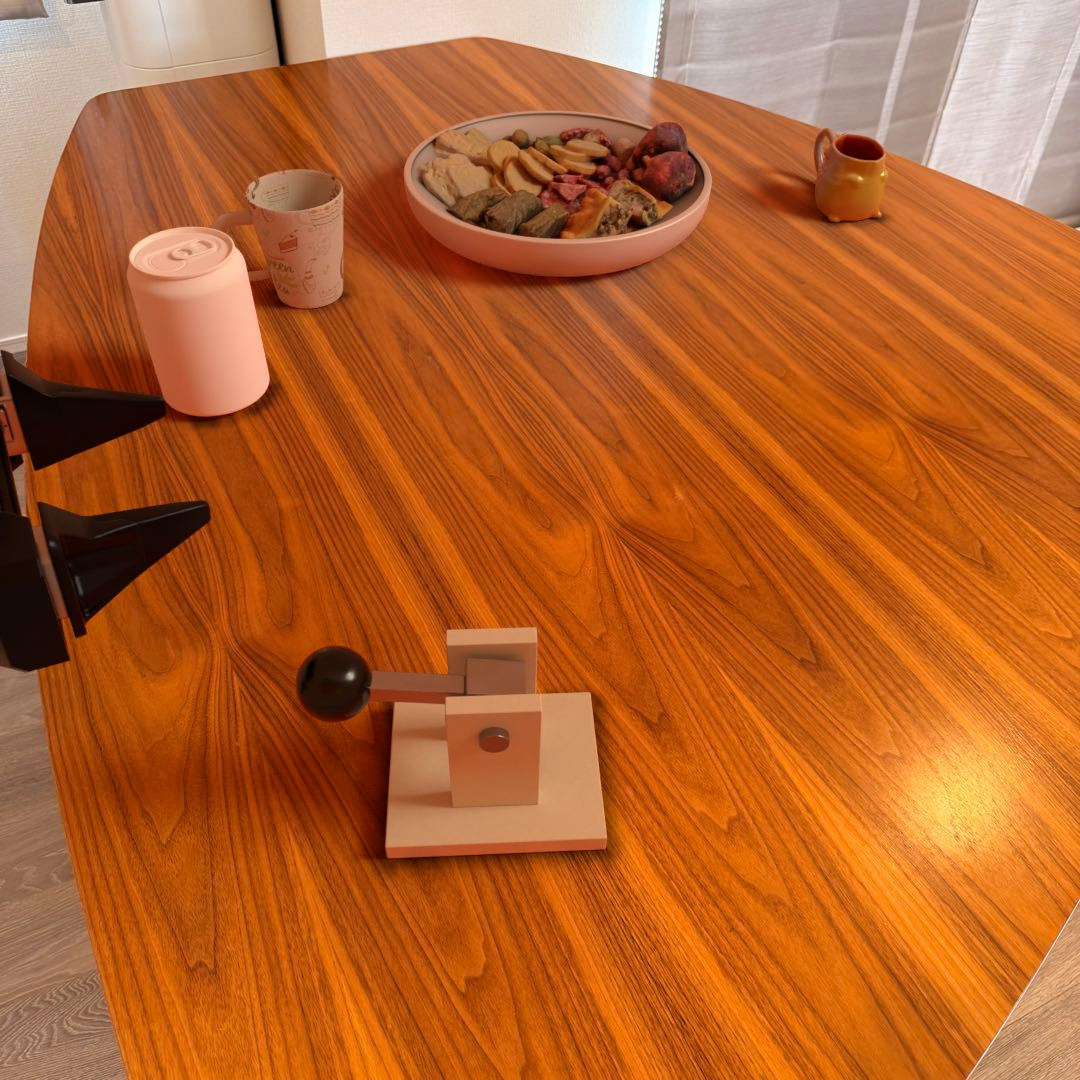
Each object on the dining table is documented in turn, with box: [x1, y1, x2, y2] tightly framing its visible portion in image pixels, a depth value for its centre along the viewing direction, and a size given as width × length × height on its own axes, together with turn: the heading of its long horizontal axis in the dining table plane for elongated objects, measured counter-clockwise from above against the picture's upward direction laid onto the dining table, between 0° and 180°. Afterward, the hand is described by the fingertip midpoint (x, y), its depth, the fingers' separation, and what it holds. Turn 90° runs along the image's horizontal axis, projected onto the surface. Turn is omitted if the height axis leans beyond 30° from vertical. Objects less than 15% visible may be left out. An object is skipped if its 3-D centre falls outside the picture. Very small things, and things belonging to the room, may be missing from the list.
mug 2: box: [813, 127, 889, 223], centre depth 100 cm, size 12×7×7 cm, turn 10°
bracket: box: [384, 626, 608, 859], centre depth 49 cm, size 11×9×9 cm
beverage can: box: [126, 226, 271, 417], centre depth 72 cm, size 8×8×12 cm
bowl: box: [403, 109, 713, 278], centre depth 96 cm, size 30×30×8 cm
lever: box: [294, 644, 526, 724], centre depth 46 cm, size 11×4×4 cm, turn 93°
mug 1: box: [209, 168, 344, 310], centre depth 83 cm, size 8×12×10 cm, turn 105°
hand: (186, 454), depth 49 cm, fingers open, 9 cm apart
